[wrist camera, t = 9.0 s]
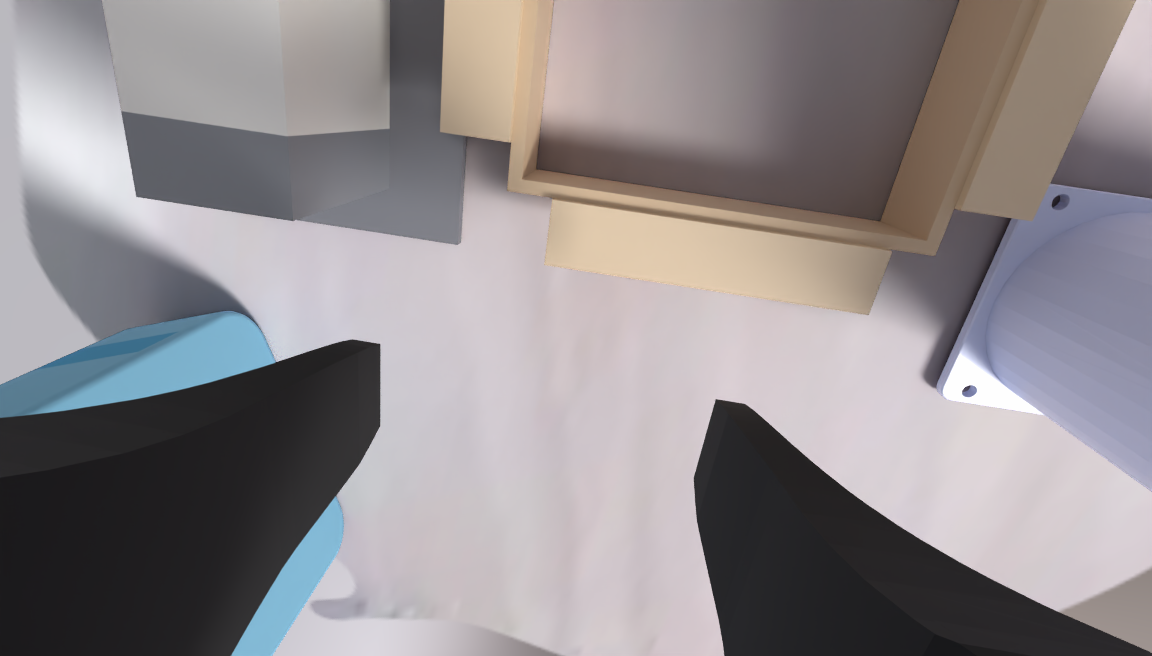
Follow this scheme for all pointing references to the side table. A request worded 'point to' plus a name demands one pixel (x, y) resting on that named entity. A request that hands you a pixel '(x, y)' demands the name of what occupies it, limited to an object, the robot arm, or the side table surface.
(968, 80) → the carton
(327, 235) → the side table surface
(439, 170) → the mat
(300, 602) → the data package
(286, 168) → the capped box
